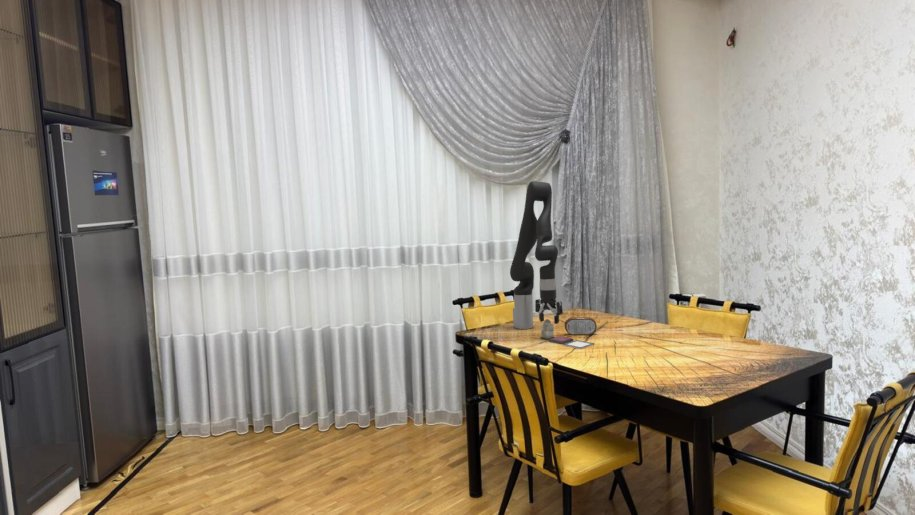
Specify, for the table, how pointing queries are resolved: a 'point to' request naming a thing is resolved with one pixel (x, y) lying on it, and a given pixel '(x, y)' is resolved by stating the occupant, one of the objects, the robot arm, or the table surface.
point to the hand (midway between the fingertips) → (549, 322)
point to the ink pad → (561, 340)
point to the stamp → (547, 330)
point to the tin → (580, 326)
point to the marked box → (579, 344)
